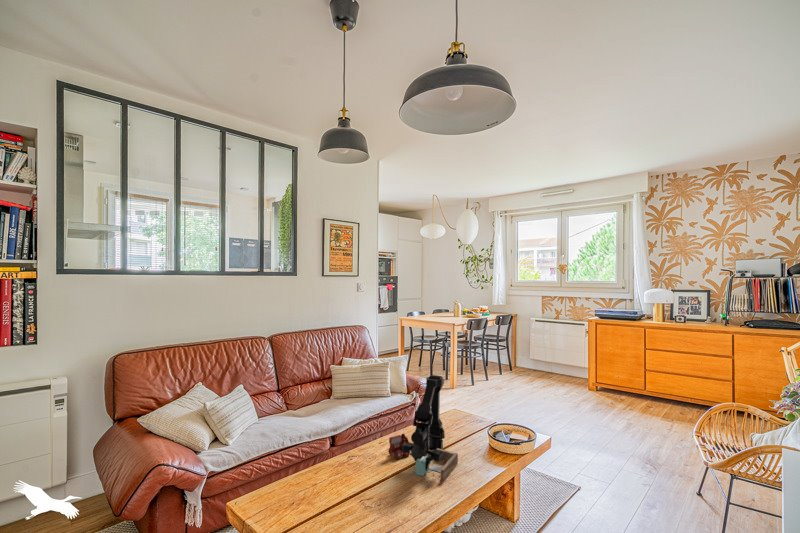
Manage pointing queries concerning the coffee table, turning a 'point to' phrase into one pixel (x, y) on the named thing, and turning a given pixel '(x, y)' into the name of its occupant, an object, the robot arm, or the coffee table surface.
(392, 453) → the toy fire truck
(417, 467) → the teal and white block
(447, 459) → the l-shaped wooden block
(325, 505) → the coffee table surface
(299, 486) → the coffee table surface
